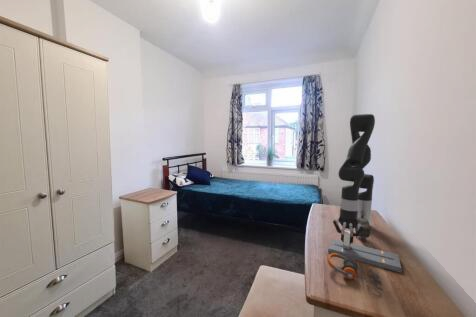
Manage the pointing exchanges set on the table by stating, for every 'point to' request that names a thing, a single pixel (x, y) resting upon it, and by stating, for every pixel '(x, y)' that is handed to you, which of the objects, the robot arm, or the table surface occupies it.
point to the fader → (346, 240)
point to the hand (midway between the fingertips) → (346, 242)
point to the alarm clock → (366, 230)
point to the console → (366, 255)
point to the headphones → (351, 269)
